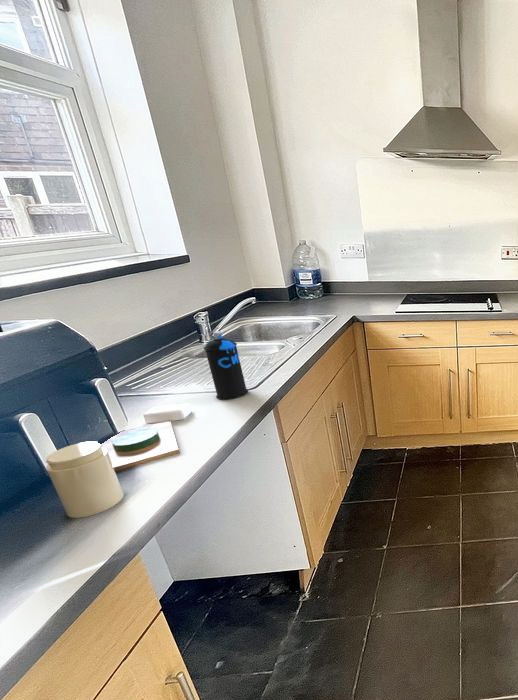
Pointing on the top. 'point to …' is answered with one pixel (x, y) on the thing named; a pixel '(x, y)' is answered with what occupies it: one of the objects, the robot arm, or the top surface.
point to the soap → (167, 413)
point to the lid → (135, 440)
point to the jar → (84, 479)
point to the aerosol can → (225, 367)
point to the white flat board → (150, 453)
